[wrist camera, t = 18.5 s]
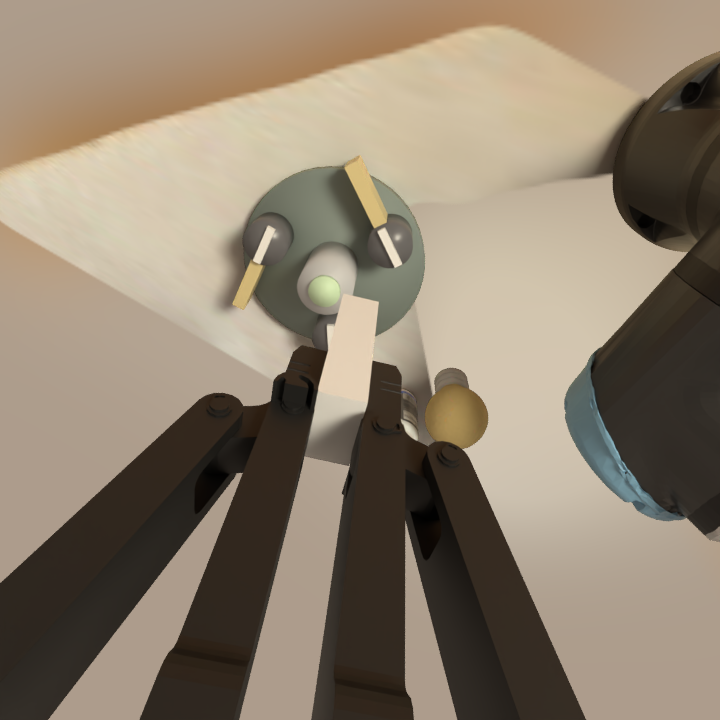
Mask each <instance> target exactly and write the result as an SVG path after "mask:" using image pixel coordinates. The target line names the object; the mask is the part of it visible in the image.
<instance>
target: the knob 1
mask: <svg viewBox="0 0 720 720" xmlns="http://www.w3.org/2000/svg"><path fill="white" fill-rule="evenodd" d="M293 240H294V231H293V228H292V225H291V224H290V222H289V221H288V220H287V219H286V218H285V217H284V216H282V215H280V214H278V213H274V212H267V213H263V214H261V215H260V216H259V217H258V218H257V219H256V220H255V221H254V222H253V223H252V224H251V225H250V226H249V227H248V228H247V229H246V231H245V232H244V235H243V247H244V250H245V252H246V253H247V255H248V256H249V257H250V258H251V261H250V264H249V266H248V268H247V271H246V273H245V275H244V278H243V280H242V282H241V285H240V287H239V290H238V292H237V294H236V297H235V299H234V301H233V304H232V305H234V306H236V307H238V308H240V309H242V310H244V308H245V307H246V305H247V304H248V302H249V301H250V299H251V297H252V295H253V293H254V291H255V288H256V286H257V284H258V282H259V279H260V277H261V275H262V273H263V270H264V268H265V266H271V265H275V264H277V263H279V262H280V261H281V260H282V259H283V258H284V256H285V255H286V253H287V251H288V250H289V248H290V247H291V245H292V243H293Z"/></svg>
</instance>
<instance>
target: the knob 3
mask: <svg viewBox="0 0 720 720" xmlns="http://www.w3.org/2000/svg"><path fill="white" fill-rule="evenodd" d="M344 168H345V170H346V172H347V174H348V176H349V178H350V180H351V182H352V184H353V186H354V188H355V190H356V192H357V194H358V197H359V199H360V201H361V203H362V205H363V207H364V209H365V211H366V213H367V215H368V217H369V219H370V221H371V223H372V227H371V230H370V234H369V239H368V245H367V248H368V253H369V256H370V258H371V259H372V260H373V261H374V262H375V263H376V264H377V265H379V266H381V267H383V268H397V267H399V266H401V265H403V264H404V263H406V262H407V261H408V259H409V258H410V256H411V254H412V251H413V234H412V228H411V226H410V224H409V222H408V221H407V220H406V219H405V218H404V217H402V216H400V215H397V214H387V211H386V209H385V207H384V205H383V203H382V201H381V199H380V196H379V194H378V192H377V190H376V188H375V186H374V184H373V181H372V179H371V177H370V175H369V173H368V171H367V169H366V167H365V164H364V162H363V160H362V158H361V156H360V155H359V156H357V157H355V158H354V159H352V160H350V161H348V162H347V164H346V166H345V167H344Z"/></svg>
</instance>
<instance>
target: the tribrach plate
mask: <svg viewBox="0 0 720 720" xmlns="http://www.w3.org/2000/svg"><path fill="white" fill-rule="evenodd" d="M370 177H371V179H372V181H373V184H374V186H375V188H376V190H377V192H378V194H379V196H380V199H381V201H382V203H383V205H384V207H385V209H386V211H387V214H397V215H400V216H402V217H404V218H405V219H406V220H407V221H408V222H409V224H410V226H411V228H412V234H413V251H412V254H411V256H410V258H409V259H408V261H407V262H406V263H404V264H403V265H401V266H399V267H397V268H383V267H381V266H379V265H377V264H376V263H375V262H374V261H373V260H372V259H371V258H370V256H369V253H368V248H367V245H368V239H369V234H370V230H371V227H372V223H371V221H370V219H369V217H368V215H367V213H366V211H365V209H364V207H363V205H362V203H361V201H360V199H359V197H358V194H357V192H356V190H355V188H354V186H353V184H352V182H351V180H350V178H349V176H348V174H347V172H346V170H345V168H344V167H332V166H329V167H317V168H312V169H307V170H304V171H301V172H299V173H296V174H293V175H292V176H290V177H288V178H286V179H284V180H283V181H281V182H280V183H279V184H277V185H276V186H275V187H274V188H273V189H271V190H270V191H269V193H268V194H267V195H266V196H265V197H264V198H263V199H262V200H261V201H260V203H259V204H258V206H257V207H256V208H255V210H254V212H253V214H252V216H251V218H250V221H249V224H248V227H249V226H250V225H251V224H252V223H253V222H254V221H255V220H256V219H257V218H258V217H259V216H260V215H261V214H263V213H267V212H274V213H278V214H280V215H282V216H284V217H285V218H286V219H287V220H288V221H289V222H290V224H291V225H292V228H293V231H294V240H293V243H292V245H291V247H290V248H289V250H288V251H287V253H286V255H285V256H284V258H283V259H282V260H281V261H280V262H279V263H277V264H275V265H271V266H265V268H264V270H263V273H262V275H261V277H260V279H259V282H258V284H257V286H256V288H255V291H254V292H255V294H256V296H257V297H258V299H259V300H260V302H261V303H262V305H263V306H264V307H265V308H266V309H267V310H268V312H269V313H270V314H271V315H272V316H273V317H274V318H276V319H277V320H278V321H279V322H280V323H282V324H283V325H284V326H286V327H287V328H289V329H291V330H292V331H294V332H296V333H298V334H300V335H303V336H305V337H308V338H311V339H312V335H313V331H314V328H315V326H316V323H317V320H318V317H319V315H320V314H323V315H331V314H336V313H338V312H339V308H340V304H341V300H342V297H343V294H348V295H352V296H356V297H360V298H365V299H369V300H373V301H377V302H379V305H378V314H377V323H376V332H375V336H377V335H379V334H381V333H383V332H385V331H386V330H388V329H389V328H391V327H392V326H394V325H395V324H396V323H397V322H398V321H399V320H400V319H402V318H403V317H404V315H405V314H406V313H407V312H408V311H409V309H410V308H411V306H412V305H413V303H414V301H415V300H416V298H417V295H418V293H419V291H420V288H421V285H422V281H423V276H424V269H425V254H424V246H423V240H422V236H421V233H420V229H419V227H418V224H417V222H416V220H415V217H414V216H413V215H412V212H411V211H410V209H409V208H408V206H407V205H406V204H405V202H404V201H403V200H402V199H401V198H400V197H399V196H398V195H397V194H396V193H395V192H394V191H393V190H392V189H391V188H390V187H388V186H387V185H386V184H384V183H383V182H381V181H380V180H378V179H376V178H374V177H372V176H370ZM248 227H247V228H248ZM244 261H245V267H246V271H247V268H248V266H249V264H250V261H251V258H250V257H249V256H248V255H247V253H246V252H245V250H244Z"/></svg>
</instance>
